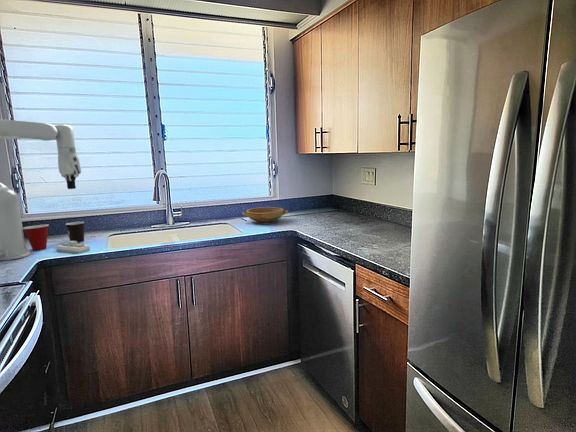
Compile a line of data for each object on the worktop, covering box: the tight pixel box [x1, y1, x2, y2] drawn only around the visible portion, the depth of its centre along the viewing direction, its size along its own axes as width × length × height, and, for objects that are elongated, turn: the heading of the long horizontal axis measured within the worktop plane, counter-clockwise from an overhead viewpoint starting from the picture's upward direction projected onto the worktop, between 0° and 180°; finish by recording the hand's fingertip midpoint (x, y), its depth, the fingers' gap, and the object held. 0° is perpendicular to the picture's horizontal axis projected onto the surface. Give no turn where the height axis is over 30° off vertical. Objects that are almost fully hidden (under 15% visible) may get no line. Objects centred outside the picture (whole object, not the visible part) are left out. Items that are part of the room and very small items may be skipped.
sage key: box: [67, 240, 78, 246], centre depth 177 cm, size 2×3×2 cm
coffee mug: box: [65, 221, 85, 244], centre depth 194 cm, size 12×9×10 cm
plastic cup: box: [23, 223, 50, 251], centre depth 182 cm, size 11×11×12 cm
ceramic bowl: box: [241, 206, 289, 225], centre depth 235 cm, size 30×24×8 cm
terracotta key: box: [75, 243, 85, 247], centre depth 176 cm, size 2×3×2 cm
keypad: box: [56, 244, 91, 254], centre depth 178 cm, size 6×15×2 cm, turn 68°
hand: (71, 188), depth 182 cm, fingers closed
